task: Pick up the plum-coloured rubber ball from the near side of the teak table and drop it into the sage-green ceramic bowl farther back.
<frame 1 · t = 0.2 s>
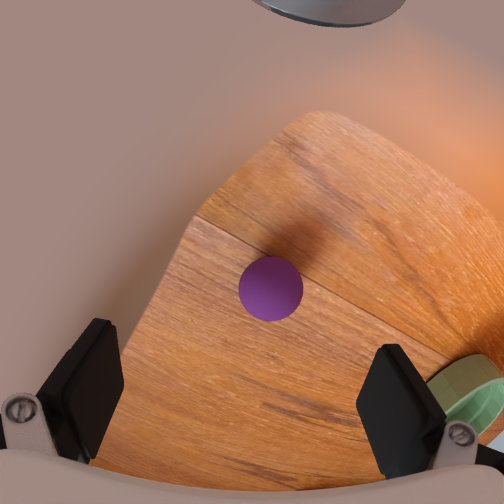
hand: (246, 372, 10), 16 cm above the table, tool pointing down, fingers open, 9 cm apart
ball: (268, 276, 26), on the table
green bowl: (449, 396, 33), on the table
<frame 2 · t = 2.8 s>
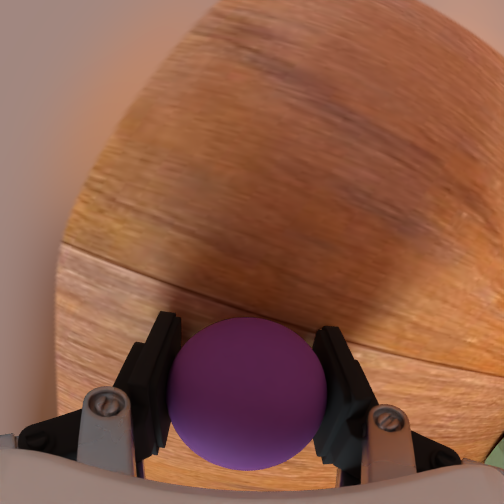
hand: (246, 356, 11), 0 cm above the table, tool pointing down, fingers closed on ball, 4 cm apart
ball: (246, 349, 11), on the table, touching gripper
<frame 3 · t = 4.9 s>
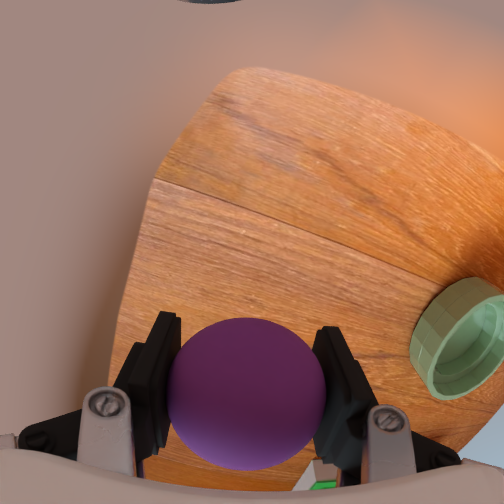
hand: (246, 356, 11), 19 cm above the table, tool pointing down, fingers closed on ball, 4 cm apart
ball: (245, 349, 11), point 19 cm above the table, touching gripper
tray: (349, 486, 47), on the table
green bowl: (455, 328, 34), on the table
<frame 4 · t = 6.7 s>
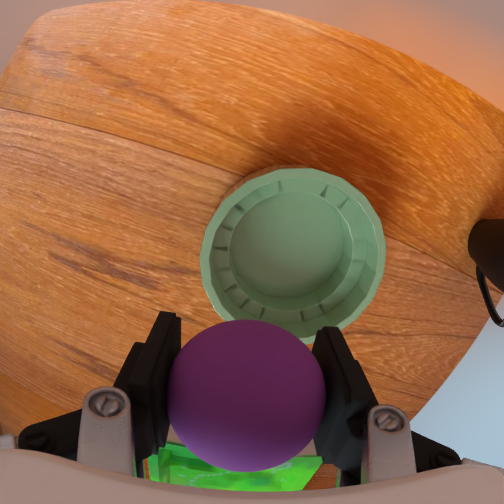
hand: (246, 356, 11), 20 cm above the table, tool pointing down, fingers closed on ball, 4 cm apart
ball: (245, 350, 11), point 19 cm above the table, touching gripper
mug: (477, 253, 32), on the table
tray: (226, 466, 43), on the table
green bowl: (287, 244, 30), on the table
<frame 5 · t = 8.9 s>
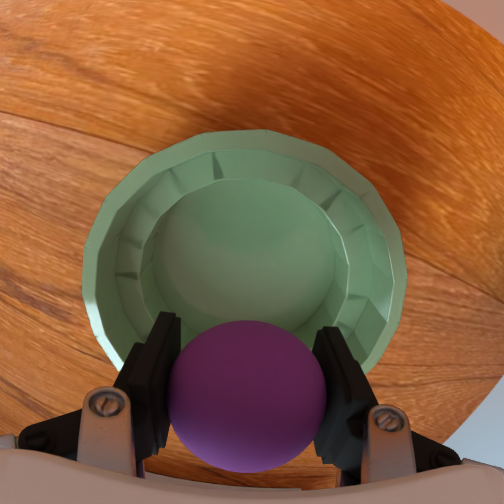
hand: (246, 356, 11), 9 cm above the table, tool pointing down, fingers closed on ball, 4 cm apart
ball: (245, 351, 11), point 8 cm above the table, touching gripper
green bowl: (243, 265, 19), on the table
when the fingers open (4 cm above the table, at t = 10.7 s): ball drops 3 cm, resting on green bowl.
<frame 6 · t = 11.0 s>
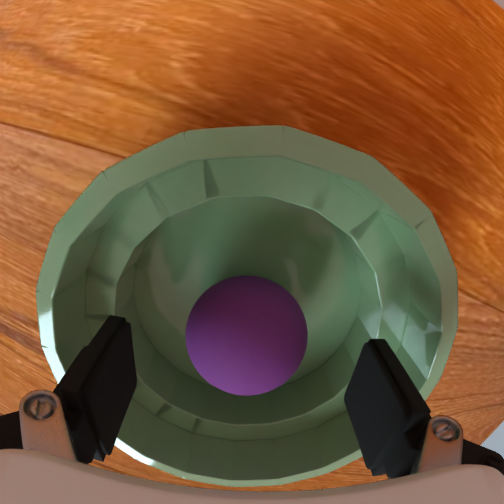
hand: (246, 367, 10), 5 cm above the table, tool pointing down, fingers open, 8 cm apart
ball: (246, 307, 15), resting on green bowl
green bowl: (247, 301, 15), on the table
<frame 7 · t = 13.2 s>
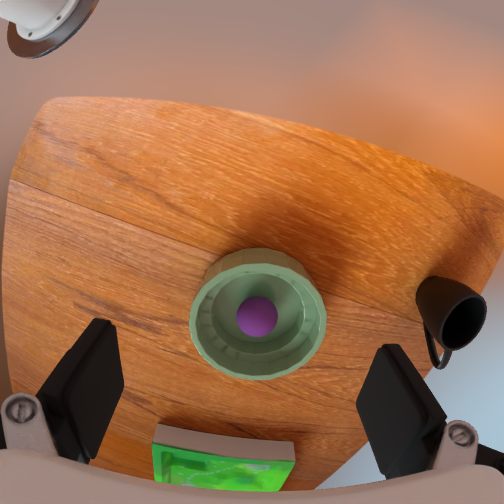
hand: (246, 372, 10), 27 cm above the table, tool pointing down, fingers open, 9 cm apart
ball: (256, 306, 39), resting on green bowl
mug: (426, 304, 40), on the table
tray: (218, 467, 52), on the table
green bowl: (257, 304, 40), on the table
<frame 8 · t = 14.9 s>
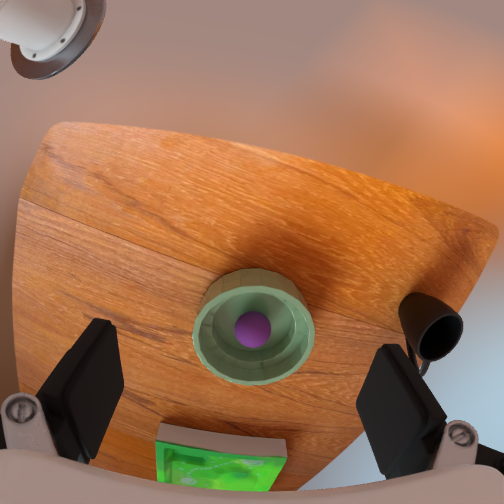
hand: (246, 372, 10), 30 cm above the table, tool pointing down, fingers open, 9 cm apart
ball: (252, 319, 43), resting on green bowl
mug: (408, 316, 45), on the table
tray: (215, 462, 56), on the table
green bowl: (252, 317, 44), on the table
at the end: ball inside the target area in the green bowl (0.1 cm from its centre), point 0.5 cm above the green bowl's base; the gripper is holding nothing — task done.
